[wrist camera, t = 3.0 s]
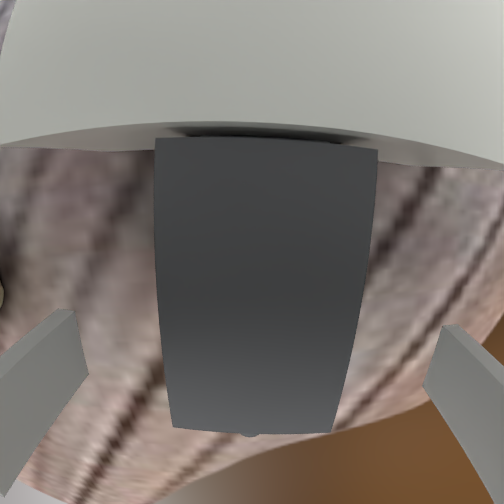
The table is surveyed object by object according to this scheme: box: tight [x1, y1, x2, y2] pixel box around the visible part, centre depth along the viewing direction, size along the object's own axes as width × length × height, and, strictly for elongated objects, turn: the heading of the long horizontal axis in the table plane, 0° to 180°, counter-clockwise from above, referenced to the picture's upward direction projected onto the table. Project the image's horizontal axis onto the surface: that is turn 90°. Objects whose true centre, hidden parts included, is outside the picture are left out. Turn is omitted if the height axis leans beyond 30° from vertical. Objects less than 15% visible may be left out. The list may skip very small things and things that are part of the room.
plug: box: [154, 135, 378, 437], centre depth 13 cm, size 20×6×8 cm, turn 178°
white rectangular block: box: [0, 0, 504, 171], centre depth 10 cm, size 10×18×10 cm, turn 88°
